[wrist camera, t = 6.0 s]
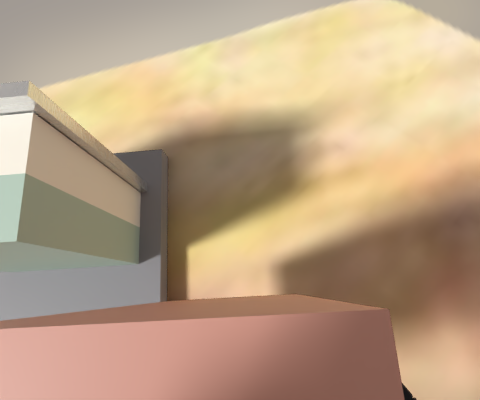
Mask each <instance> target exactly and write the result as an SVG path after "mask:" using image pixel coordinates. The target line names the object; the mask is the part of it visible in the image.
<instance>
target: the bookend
mask: <svg viewBox="0 0 480 400" xmlns="http://www.w3.org/2000/svg"><path fill="white" fill-rule="evenodd" d="M23 113H35V114H36V115H37V116H39V117H40V118H41V119H43V120H44V121H45V122H47V123H48V124H49V125H51V126H52V127H53V128H55V129H56V130H57V131H59V132H60V133H61V134H63V135H64V136H65V137H67V138H68V139H69V140H71V141H72V142H73V143H75V144H76V145H77V146H79V147H80V148H81V149H83V150H84V151H85V152H87V153H88V154H89V155H91V156H92V157H93V158H95V159H96V160H97V161H99V162H100V163H101V164H103V165H104V166H105V167H107V168H108V169H109V170H111V171H112V172H113V173H115V174H116V175H117V176H119V177H120V178H121V179H123V180H124V181H125V182H127V183H128V184H129V185H131V186H132V187H133V188H135V189H136V190H137V191H139V192H148V184H147V183H146V182H145V181H144V180H143V179H142V178H140V177H139V176H138V175H137V174H136V173H135V172H134V171H132V170H131V169H130V168H129V167H128V166H127V165H126V164H124V163H123V162H122V161H121V160H120V159H119V158H117V157H116V156H115V155H114V154H113V153H112V152H111V151H109V150H108V149H107V148H106V147H105V146H104V145H103V144H101V143H100V142H99V141H98V140H97V139H96V138H94V137H93V136H92V135H91V134H90V133H89V132H88V131H86V130H85V129H84V128H83V127H82V126H81V125H80V124H78V123H77V122H76V121H75V120H74V119H73V118H71V117H70V116H69V115H68V114H67V113H66V112H65V111H63V110H62V109H61V108H60V107H59V106H58V105H57V104H55V103H54V102H53V101H52V100H51V99H50V98H48V97H47V96H46V95H45V94H44V93H43V92H42V91H40V90H39V89H38V88H37V87H36V86H35V85H33V84H32V83H31V82H30V81H22V82H13V83H3V84H0V116H2V115H13V114H23Z"/></svg>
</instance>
